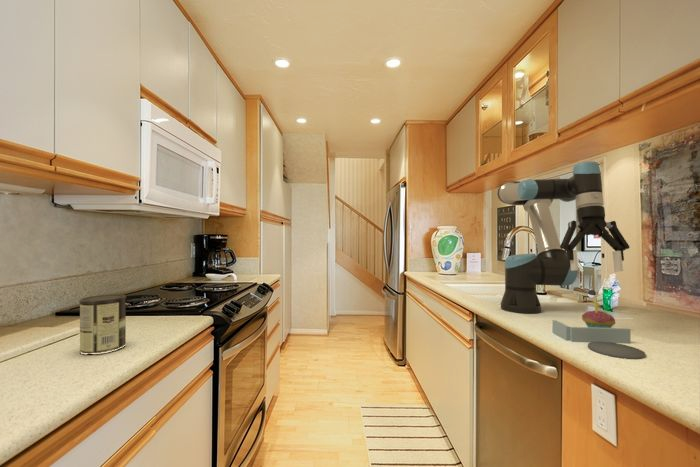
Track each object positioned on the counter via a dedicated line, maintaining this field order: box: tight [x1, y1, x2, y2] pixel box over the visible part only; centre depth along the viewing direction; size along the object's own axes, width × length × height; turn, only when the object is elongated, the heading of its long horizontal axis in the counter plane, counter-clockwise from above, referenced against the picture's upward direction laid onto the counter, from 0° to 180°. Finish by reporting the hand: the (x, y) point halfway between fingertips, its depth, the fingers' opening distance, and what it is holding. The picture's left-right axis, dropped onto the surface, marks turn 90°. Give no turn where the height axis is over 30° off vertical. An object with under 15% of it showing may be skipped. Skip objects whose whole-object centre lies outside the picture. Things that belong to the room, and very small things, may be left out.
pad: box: [587, 342, 646, 360], centre depth 90 cm, size 12×12×1 cm
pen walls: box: [551, 319, 632, 344], centre depth 101 cm, size 9×17×4 cm, turn 85°
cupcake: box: [581, 296, 616, 328], centre depth 106 cm, size 9×8×12 cm
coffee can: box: [79, 293, 127, 354], centre depth 91 cm, size 10×10×14 cm
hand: (596, 271), depth 108 cm, fingers open, 13 cm apart
